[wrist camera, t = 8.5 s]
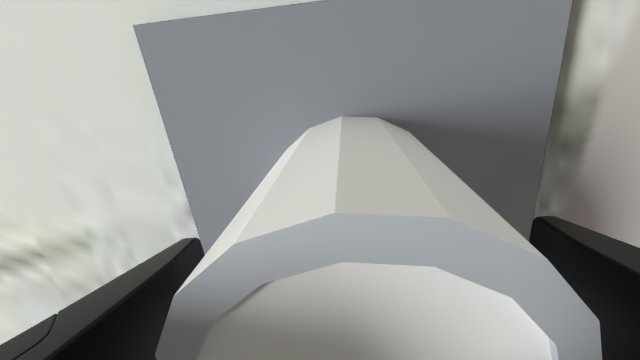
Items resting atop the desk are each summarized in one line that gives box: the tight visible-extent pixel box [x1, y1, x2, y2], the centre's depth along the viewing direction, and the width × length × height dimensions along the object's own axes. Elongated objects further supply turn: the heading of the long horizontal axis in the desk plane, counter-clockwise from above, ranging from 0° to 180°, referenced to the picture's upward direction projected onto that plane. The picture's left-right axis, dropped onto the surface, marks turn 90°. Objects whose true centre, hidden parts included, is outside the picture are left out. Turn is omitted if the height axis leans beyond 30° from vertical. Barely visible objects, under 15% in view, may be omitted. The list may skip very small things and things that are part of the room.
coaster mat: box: [133, 0, 573, 255], centre depth 12 cm, size 12×12×1 cm
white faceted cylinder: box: [155, 116, 602, 360], centre depth 8 cm, size 7×7×7 cm
